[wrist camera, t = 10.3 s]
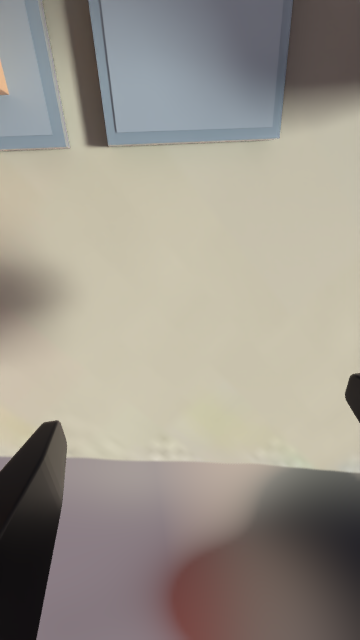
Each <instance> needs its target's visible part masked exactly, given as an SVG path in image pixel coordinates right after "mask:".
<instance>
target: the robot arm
mask: <svg viewBox="0 0 360 640" xmlns="http://www.w3.org/2000/svg"><path fill="white" fill-rule="evenodd" d="M345 398H346V401H347V403H348V404H349V406H350V408H351V409H352V411H353V413H354V414H355V416H356V418H357V419H358V421H359V423H360V373H356V374H352V375H351V376H350V378H349V381H348V385H347V388H346V392H345ZM66 453H67V442H66V438H65V435H64V432H63V429H62V426H61V423H60V422H59V421H57V420H56V421H49V422H45V423H43V424H42V425H41V426H40V427H39V428H38V429H37V430H36V431H35V432H34V434H33V435H32V436H31V437H30V438H29V439H28V440H27V442H26V443H25V444H24V445H23V446H22V447H21V448H20V449H19V451H18V452H17V453H16V454H15V455H14V456H13V457H12V459H11V460H10V461H9V462H8V463H7V464H6V465H5V467H4V468H3V469H2V470H1V471H0V640H36V638H37V633H38V628H39V623H40V617H41V612H42V607H43V601H44V597H45V591H46V586H47V581H48V576H49V571H50V565H51V560H52V555H53V550H54V545H55V539H56V534H57V529H58V524H59V519H60V513H61V507H62V500H63V488H64V477H65V465H66Z"/></svg>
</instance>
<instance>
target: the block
mask: <svg viewBox="0 0 360 640" xmlns="http://www.w3.org/2000/svg"><path fill="white" fill-rule="evenodd" d="M0 95H9V92H8V88H7V84H6V80H5V76H4V72H3V68H2V64H1V60H0Z"/></svg>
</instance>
